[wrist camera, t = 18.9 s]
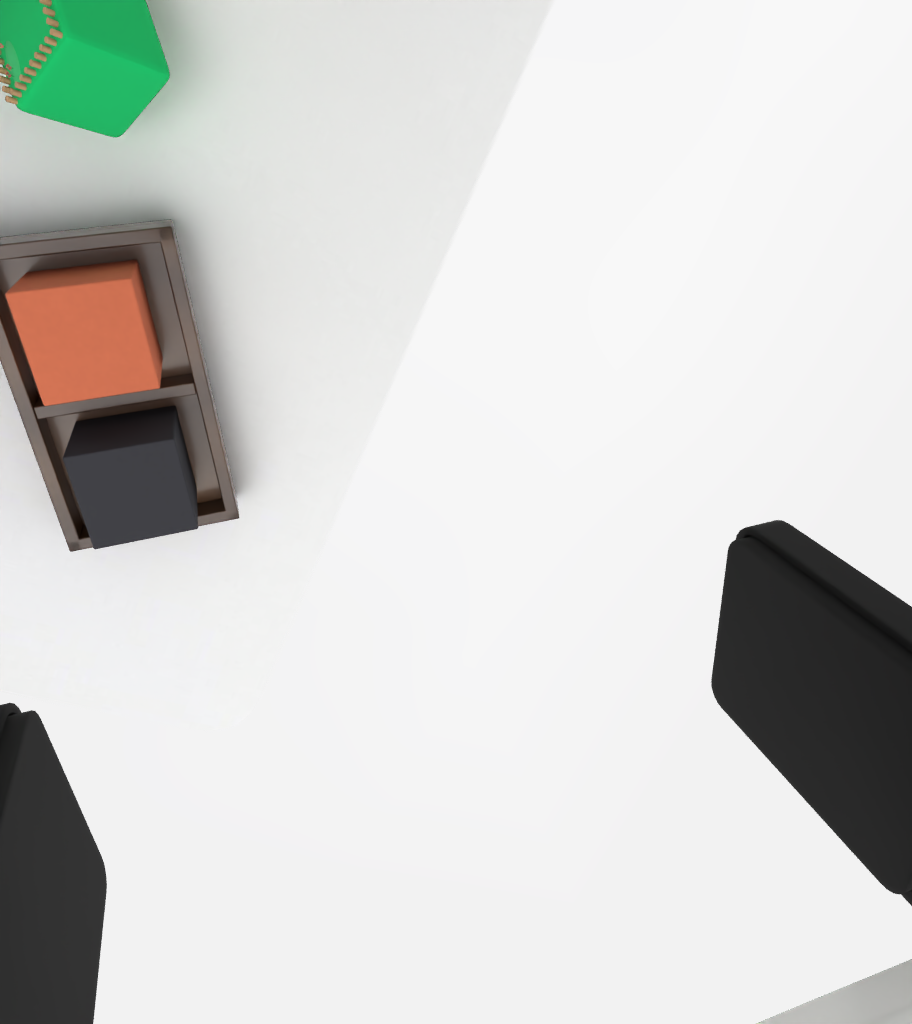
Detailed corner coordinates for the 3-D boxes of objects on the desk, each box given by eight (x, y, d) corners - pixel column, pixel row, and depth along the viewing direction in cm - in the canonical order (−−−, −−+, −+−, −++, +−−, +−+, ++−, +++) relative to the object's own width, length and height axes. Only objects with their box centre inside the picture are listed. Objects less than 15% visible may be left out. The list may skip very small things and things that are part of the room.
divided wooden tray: (-27, 239, 32) (-41, 248, 30) (172, 219, 34) (171, 225, 32) (76, 528, 38) (69, 552, 36) (236, 497, 40) (239, 518, 38)
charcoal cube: (74, 420, 35) (61, 457, 31) (175, 404, 36) (174, 438, 32) (103, 505, 37) (93, 550, 34) (197, 488, 38) (198, 529, 35)
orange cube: (25, 272, 32) (4, 293, 28) (137, 259, 33) (131, 277, 29) (59, 374, 34) (43, 407, 30) (163, 359, 35) (160, 388, 31)
